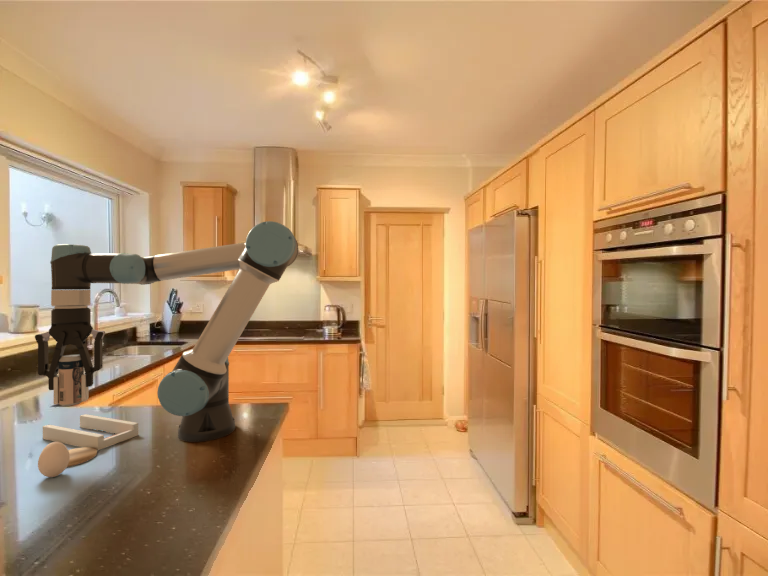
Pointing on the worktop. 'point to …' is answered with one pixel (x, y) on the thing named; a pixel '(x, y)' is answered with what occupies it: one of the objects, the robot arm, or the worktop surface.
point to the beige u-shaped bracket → (89, 439)
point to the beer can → (70, 380)
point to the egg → (53, 459)
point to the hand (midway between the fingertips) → (71, 401)
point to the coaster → (81, 455)
